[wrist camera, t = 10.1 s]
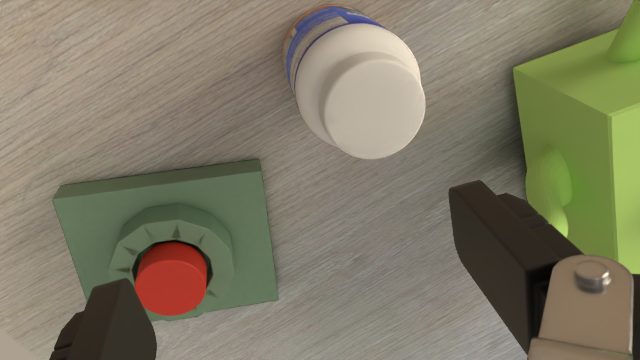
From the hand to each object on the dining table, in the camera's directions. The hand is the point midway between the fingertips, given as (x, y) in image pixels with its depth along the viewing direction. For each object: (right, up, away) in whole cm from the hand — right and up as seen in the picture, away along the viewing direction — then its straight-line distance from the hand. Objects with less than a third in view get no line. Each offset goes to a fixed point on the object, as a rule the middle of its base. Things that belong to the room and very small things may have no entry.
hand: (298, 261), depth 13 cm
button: (-7, -3, +16) cm, 18 cm away
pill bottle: (+1, +9, +16) cm, 18 cm away
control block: (-8, -2, +19) cm, 20 cm away
